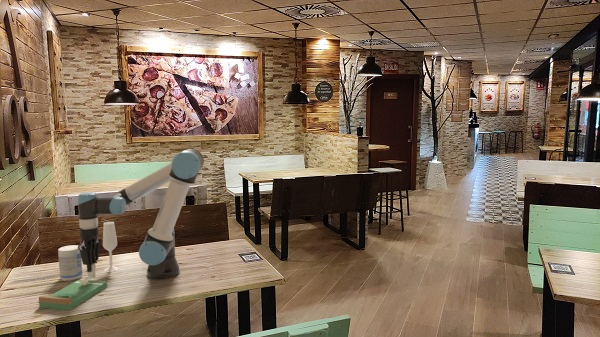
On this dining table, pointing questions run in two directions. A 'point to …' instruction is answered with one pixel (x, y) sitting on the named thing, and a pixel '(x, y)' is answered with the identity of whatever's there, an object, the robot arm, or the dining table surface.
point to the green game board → (71, 295)
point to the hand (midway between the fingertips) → (91, 277)
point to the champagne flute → (109, 242)
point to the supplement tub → (70, 262)
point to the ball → (84, 282)
